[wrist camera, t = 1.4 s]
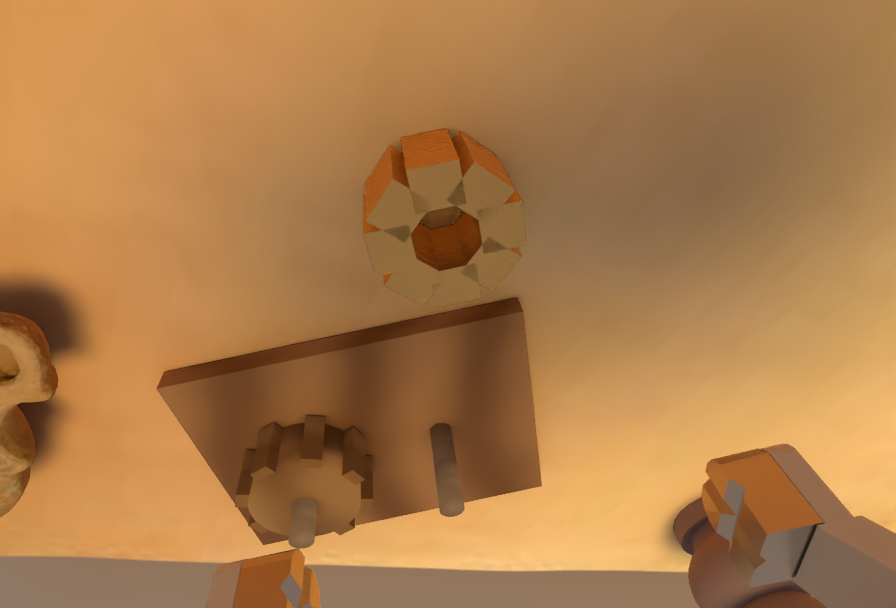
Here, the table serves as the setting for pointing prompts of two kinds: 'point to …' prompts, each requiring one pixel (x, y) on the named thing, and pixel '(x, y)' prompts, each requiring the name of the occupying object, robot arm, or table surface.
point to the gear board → (367, 422)
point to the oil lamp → (20, 400)
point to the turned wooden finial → (727, 570)
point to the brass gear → (451, 247)
